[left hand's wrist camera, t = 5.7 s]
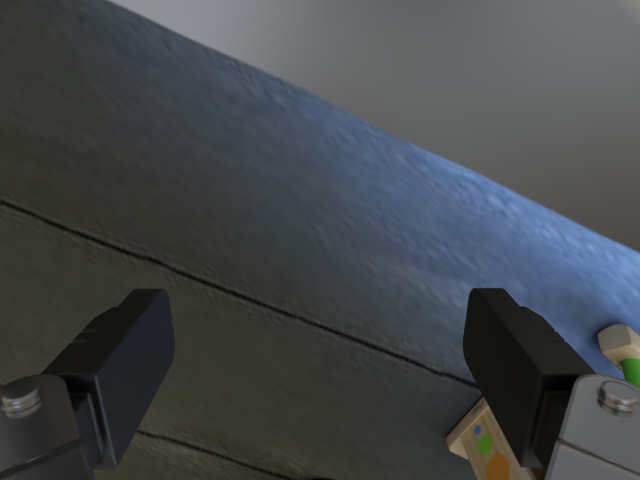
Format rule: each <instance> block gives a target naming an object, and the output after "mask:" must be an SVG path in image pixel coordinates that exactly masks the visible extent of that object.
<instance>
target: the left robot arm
mask: <svg viewBox="0 0 640 480" xmlns="http://www.w3.org/2000/svg"><path fill="white" fill-rule="evenodd" d="M174 351H175V339H174V332H173V324H172V317H171V310H170V303H169V297H168V293H167V291H166V290H165V289H134V290H133V291H132V292H131V293H130V294H129V295H128V296H127V297H126V298H125V299H124V300H123V302H122V303H121V304H120V305H119V306H118V307H112V308H111V309H109V310H107V311H106V312H104V313H102V314H100V315H99V316H97V317H95V318H94V319H93V320H92V321H91V322H90V323H89V324H88V325H87V326H86V327H85V328H84V329H83V332H82V333H79V335H78V336H77V337H76V338H75V339H74V340H73V343H70V344H69V345H68V346H67V347H66V348H65V349H64V350H63V351H62V352H61V353H60V354H59V355H58V356H57V357H56V358H55V359H54V361H53V362H52V363H51V364H50V365H49V366H48V367H47V368H46V369H45V370H44V371H43V372H42V373H41V374H39V375H32V376H27V377H24V378H21V379H18V380H15V381H12V382H10V383H8V384H6V385H4V386H2V387H0V480H95V477H94V473H93V469H116V468H117V466H118V464H119V462H120V460H121V458H122V457H123V455H124V453H125V451H126V449H127V447H128V445H129V443H130V441H131V440H132V438H133V436H134V434H135V432H136V430H137V428H138V426H139V424H140V423H141V421H142V419H143V417H144V415H145V413H146V411H147V409H148V407H149V406H150V404H151V402H152V400H153V398H154V396H155V394H156V392H157V390H158V389H159V387H160V385H161V383H162V381H163V379H164V377H165V375H166V373H167V372H168V370H169V368H170V366H171V364H172V361H173V357H174ZM463 352H464V357H465V361H466V363H467V365H468V367H469V369H470V371H471V373H472V375H473V377H474V379H475V381H476V383H477V385H478V387H479V388H480V390H481V392H482V394H483V396H484V398H485V400H486V402H487V404H488V406H489V408H490V409H491V411H492V413H493V415H494V417H495V419H496V421H497V423H498V425H499V427H500V429H501V431H502V432H503V434H504V436H505V438H506V440H507V442H508V444H509V446H510V448H511V450H512V452H513V454H514V455H515V457H516V459H517V461H518V463H519V465H520V467H521V468H543V469H544V470H545V472H546V476H545V480H640V387H638V386H636V385H634V384H632V383H630V382H628V381H625V380H622V379H619V378H616V377H613V376H608V375H601V374H596V373H595V371H594V370H593V369H592V368H591V367H590V366H589V365H588V364H587V363H586V362H585V361H584V360H583V359H582V358H581V357H580V356H579V355H578V354H577V353H576V351H575V350H574V349H573V348H572V347H571V346H570V345H569V344H568V343H567V342H564V339H563V338H562V337H561V336H560V335H559V334H558V333H557V332H555V331H554V328H553V327H552V326H551V325H550V324H549V323H548V322H547V321H546V320H545V319H544V318H543V317H542V316H540V315H538V314H537V313H535V312H533V311H531V310H530V309H528V308H526V307H520V306H519V305H518V304H517V303H516V302H515V301H514V299H513V298H512V297H511V296H510V295H509V294H508V293H507V292H506V290H504V289H503V288H473V289H472V290H471V292H470V295H469V300H468V307H467V315H466V322H465V329H464V337H463Z"/></svg>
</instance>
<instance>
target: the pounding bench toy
mask: <svg viewBox="0 0 640 480" xmlns="http://www.w3.org/2000/svg"><path fill="white" fill-rule="evenodd" d="M597 336H598V340H599V345H600V349H601V353H602V354H603V355H604V356H605V357H606V358H607V359H608V360H610V361H611V362H612V363H613V364H614V365H615V366H617V367H618V368H619V369H620V370H621V371H622V372H623V373H624V377H625V381H628V382H630V383H632V384H634V385H636V386H638V387H640V336H639V335H638V334H637V333H635V332H634V331H633V330H632V329H631V328H630V327H629V326H627V325H625V324H616V325H612V326H609V327H607V328H605V329H603V330H602V331H600V332H599V333H598V335H597ZM446 442H447V445H448V448H449V450H450V451H451V452H453V453H455V454H457V455H459V456H461V457H463V458H465V459H467V460H469V461H470V464H471V466H472V469H473V471H474V474H475V476H476V479H477V480H545V476H546V472H545V470H544V469H543V468H521V467H520V465H519V463H518V461H517V459H516V457H515V455H514V454H513V452H512V450H511V448H510V446H509V444H508V442H507V440H506V438H505V436H504V434H503V432H502V431H501V429H500V427H499V425H498V423H497V421H496V419H495V417H494V415H493V413H492V411H491V409H490V408H489V406H488V404H487V402H486V400H485V398H484V396H483V397H482V398H481V399H480V401H479V402H478V403H477V404H476V405H475V406H474V407H473V408H472V409H471V410H470V412H469V413H468V414H467V415H466V416H465V417H464V418H463V419H462V420H461V421H460V423H459V424H458V425H457V426H456V427H455V428H454V429H453V430H452V431H451V432H450V434H449V435H448V436H447V438H446Z"/></svg>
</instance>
